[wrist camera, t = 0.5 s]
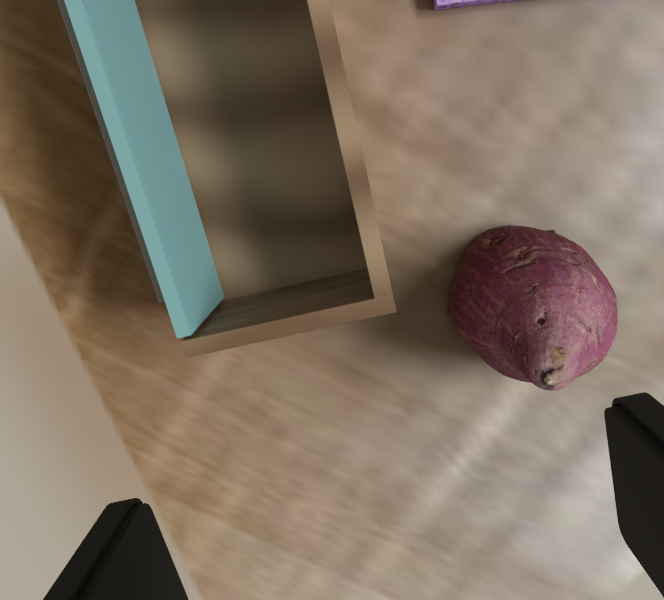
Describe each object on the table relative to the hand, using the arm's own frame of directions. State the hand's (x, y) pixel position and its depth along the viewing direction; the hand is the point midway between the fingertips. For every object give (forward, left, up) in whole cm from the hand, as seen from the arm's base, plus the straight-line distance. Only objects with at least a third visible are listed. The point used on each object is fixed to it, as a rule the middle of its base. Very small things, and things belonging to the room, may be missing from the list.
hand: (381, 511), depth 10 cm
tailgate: (-12, -11, -26) cm, 30 cm away
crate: (-12, -5, -28) cm, 30 cm away
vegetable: (+5, +10, -28) cm, 30 cm away
